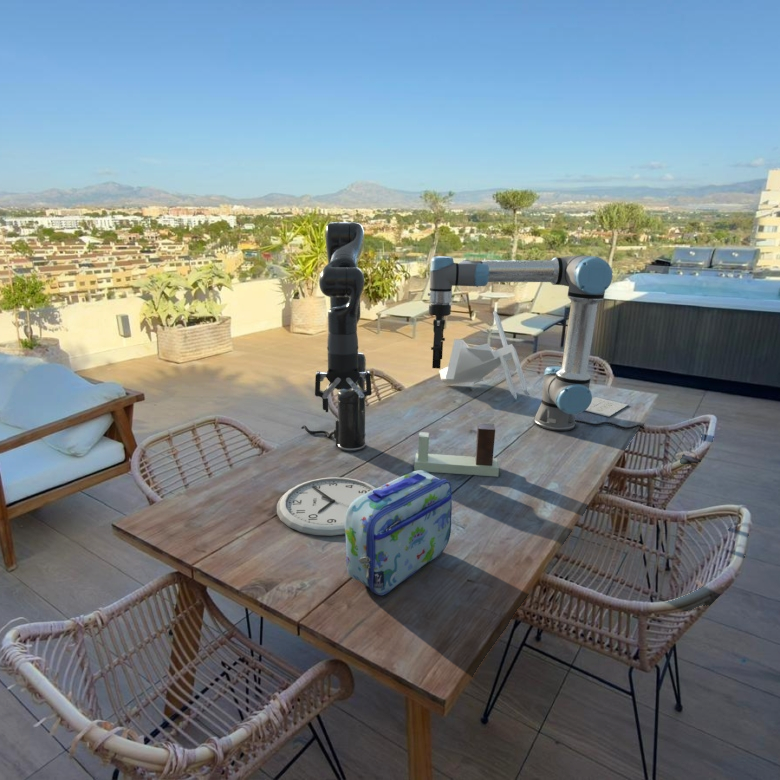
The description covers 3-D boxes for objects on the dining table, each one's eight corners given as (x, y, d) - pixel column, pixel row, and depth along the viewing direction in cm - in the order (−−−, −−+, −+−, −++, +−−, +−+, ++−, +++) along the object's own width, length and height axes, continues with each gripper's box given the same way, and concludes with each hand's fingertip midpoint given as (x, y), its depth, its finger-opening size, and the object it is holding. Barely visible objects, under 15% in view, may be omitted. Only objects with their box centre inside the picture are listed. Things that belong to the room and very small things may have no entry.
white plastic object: (461, 429, 252) (437, 405, 227) (444, 352, 274) (420, 323, 250) (535, 404, 240) (518, 377, 215) (510, 326, 262) (492, 293, 237)
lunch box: (373, 608, 104) (374, 515, 98) (339, 582, 112) (337, 495, 105) (455, 554, 122) (460, 473, 116) (421, 535, 129) (424, 458, 123)
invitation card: (608, 416, 214) (573, 407, 224) (608, 416, 214) (573, 408, 224) (628, 404, 229) (594, 396, 238) (628, 405, 229) (594, 397, 238)
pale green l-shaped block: (496, 466, 168) (499, 435, 164) (498, 476, 161) (501, 443, 158) (415, 461, 170) (416, 430, 167) (414, 470, 164) (415, 438, 161)
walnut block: (491, 459, 166) (494, 423, 162) (492, 466, 161) (495, 429, 158) (475, 458, 167) (477, 422, 163) (475, 464, 162) (478, 428, 158)
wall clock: (392, 527, 129) (268, 531, 127) (391, 533, 130) (269, 537, 127) (383, 473, 158) (282, 475, 155) (383, 478, 158) (282, 480, 156)
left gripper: (370, 345, 134) (370, 405, 139) (314, 346, 132) (316, 406, 137) (372, 353, 126) (372, 415, 132) (313, 353, 125) (315, 416, 130)
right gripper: (431, 298, 191) (429, 354, 197) (426, 308, 167) (424, 371, 174) (452, 298, 190) (449, 355, 196) (449, 308, 166) (446, 373, 173)
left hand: (343, 410), depth 134 cm, fingers open, 8 cm apart
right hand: (437, 363), depth 185 cm, fingers open, 13 cm apart
